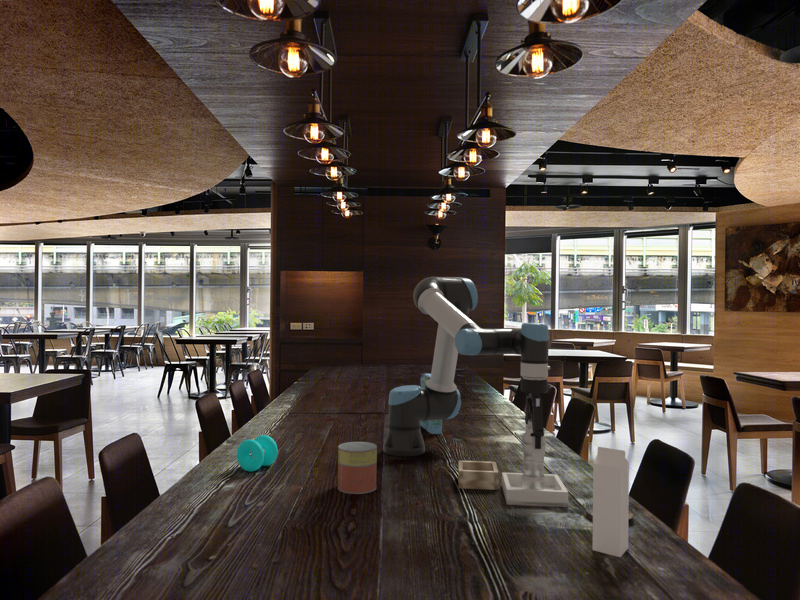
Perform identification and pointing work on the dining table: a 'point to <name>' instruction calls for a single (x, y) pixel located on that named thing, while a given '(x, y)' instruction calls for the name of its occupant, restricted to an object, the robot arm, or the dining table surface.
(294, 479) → the dining table surface
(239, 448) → the turquoise yo-yo
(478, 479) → the wooden collar
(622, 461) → the milk
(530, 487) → the plastic bottle
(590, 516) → the patterned ceramic bowl
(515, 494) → the plastic tray
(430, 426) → the gum box
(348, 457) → the canned food
